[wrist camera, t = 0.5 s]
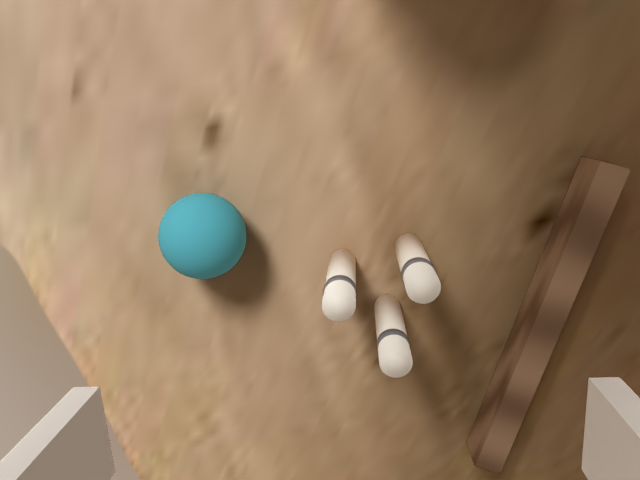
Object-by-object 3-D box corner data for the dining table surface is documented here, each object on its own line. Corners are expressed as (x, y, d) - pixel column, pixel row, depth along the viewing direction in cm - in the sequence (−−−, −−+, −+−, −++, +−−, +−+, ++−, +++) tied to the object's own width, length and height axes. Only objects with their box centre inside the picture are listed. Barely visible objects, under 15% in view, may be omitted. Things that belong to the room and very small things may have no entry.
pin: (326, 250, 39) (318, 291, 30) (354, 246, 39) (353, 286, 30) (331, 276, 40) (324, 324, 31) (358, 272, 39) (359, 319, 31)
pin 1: (371, 295, 40) (375, 349, 31) (398, 291, 40) (411, 344, 31) (375, 320, 40) (381, 380, 32) (402, 317, 40) (415, 376, 31)
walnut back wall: (490, 448, 42) (499, 473, 40) (466, 441, 42) (474, 466, 39) (608, 164, 36) (631, 169, 33) (581, 156, 36) (601, 160, 33)
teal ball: (167, 193, 39) (134, 209, 33) (244, 180, 38) (224, 194, 32) (185, 269, 40) (157, 297, 34) (260, 258, 40) (244, 284, 34)
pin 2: (392, 235, 38) (402, 272, 30) (420, 230, 38) (439, 267, 30) (395, 261, 39) (407, 306, 30) (424, 257, 39) (443, 301, 30)
